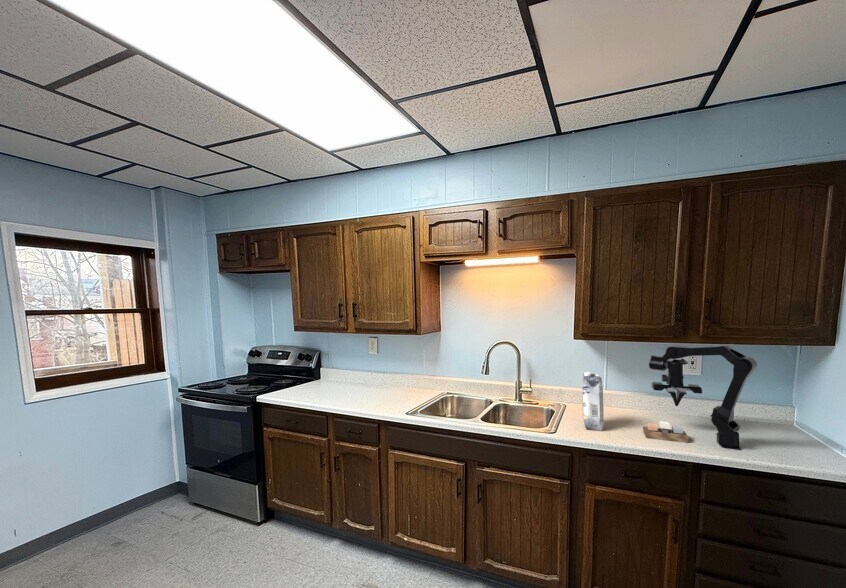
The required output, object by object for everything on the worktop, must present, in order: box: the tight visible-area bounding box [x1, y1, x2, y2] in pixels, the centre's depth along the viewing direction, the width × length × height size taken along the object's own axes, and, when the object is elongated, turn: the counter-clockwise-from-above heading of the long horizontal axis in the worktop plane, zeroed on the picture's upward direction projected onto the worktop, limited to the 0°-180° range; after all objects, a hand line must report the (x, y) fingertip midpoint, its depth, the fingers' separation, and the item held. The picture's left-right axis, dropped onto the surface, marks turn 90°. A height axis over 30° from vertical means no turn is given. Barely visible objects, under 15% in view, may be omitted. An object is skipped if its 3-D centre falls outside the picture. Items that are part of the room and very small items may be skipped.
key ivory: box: [658, 420, 671, 433], centre depth 161 cm, size 3×3×5 cm
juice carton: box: [581, 371, 605, 432], centre depth 175 cm, size 9×10×27 cm
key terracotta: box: [646, 422, 659, 432], centre depth 162 cm, size 3×3×5 cm
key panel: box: [642, 426, 690, 444], centre depth 161 cm, size 16×7×3 cm, turn 67°
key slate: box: [671, 425, 684, 434], centre depth 159 cm, size 3×3×5 cm
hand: (676, 405), depth 166 cm, fingers closed
